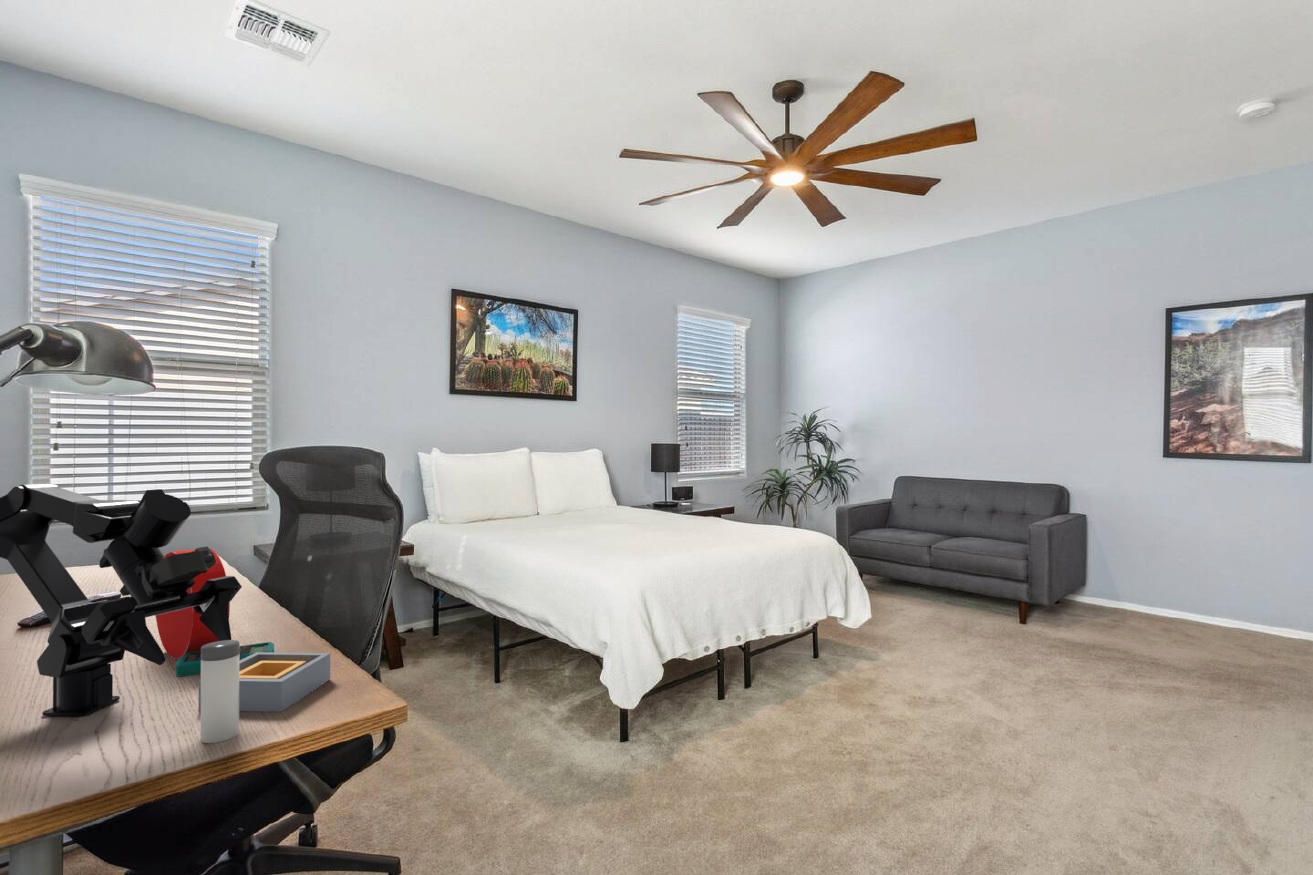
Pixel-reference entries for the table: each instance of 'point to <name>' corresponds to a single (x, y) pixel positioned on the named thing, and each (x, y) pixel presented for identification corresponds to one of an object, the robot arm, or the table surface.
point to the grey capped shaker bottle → (219, 691)
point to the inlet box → (278, 679)
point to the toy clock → (188, 618)
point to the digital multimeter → (192, 660)
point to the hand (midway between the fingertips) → (197, 652)
